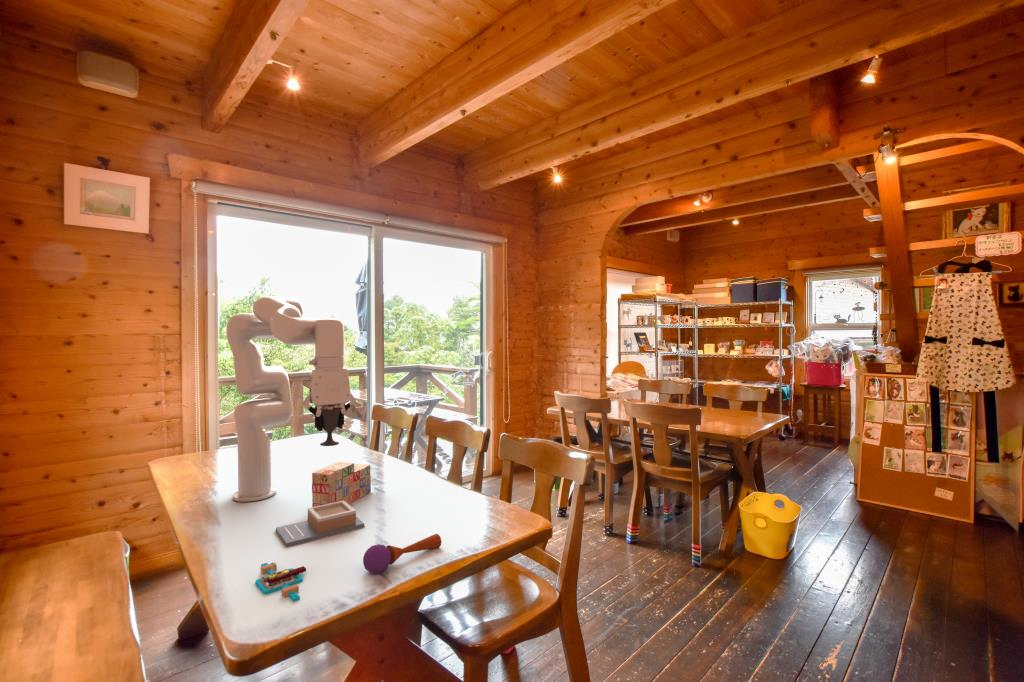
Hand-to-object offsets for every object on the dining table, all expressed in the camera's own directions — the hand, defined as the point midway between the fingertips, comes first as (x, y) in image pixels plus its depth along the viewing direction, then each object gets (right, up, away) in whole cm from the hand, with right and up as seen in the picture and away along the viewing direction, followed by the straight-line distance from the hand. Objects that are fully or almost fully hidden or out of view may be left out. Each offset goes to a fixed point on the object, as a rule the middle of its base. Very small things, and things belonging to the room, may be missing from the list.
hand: (329, 428), depth 132 cm
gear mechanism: (+1, -29, -28) cm, 40 cm away
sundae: (0, -5, 0) cm, 5 cm away
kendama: (+25, -28, -19) cm, 42 cm away
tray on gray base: (-2, -27, -1) cm, 28 cm away
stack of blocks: (-3, -27, +20) cm, 34 cm away
